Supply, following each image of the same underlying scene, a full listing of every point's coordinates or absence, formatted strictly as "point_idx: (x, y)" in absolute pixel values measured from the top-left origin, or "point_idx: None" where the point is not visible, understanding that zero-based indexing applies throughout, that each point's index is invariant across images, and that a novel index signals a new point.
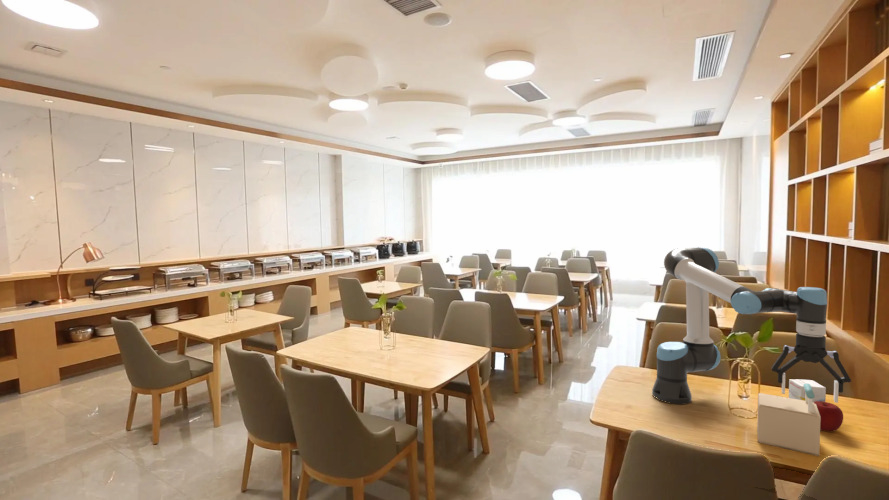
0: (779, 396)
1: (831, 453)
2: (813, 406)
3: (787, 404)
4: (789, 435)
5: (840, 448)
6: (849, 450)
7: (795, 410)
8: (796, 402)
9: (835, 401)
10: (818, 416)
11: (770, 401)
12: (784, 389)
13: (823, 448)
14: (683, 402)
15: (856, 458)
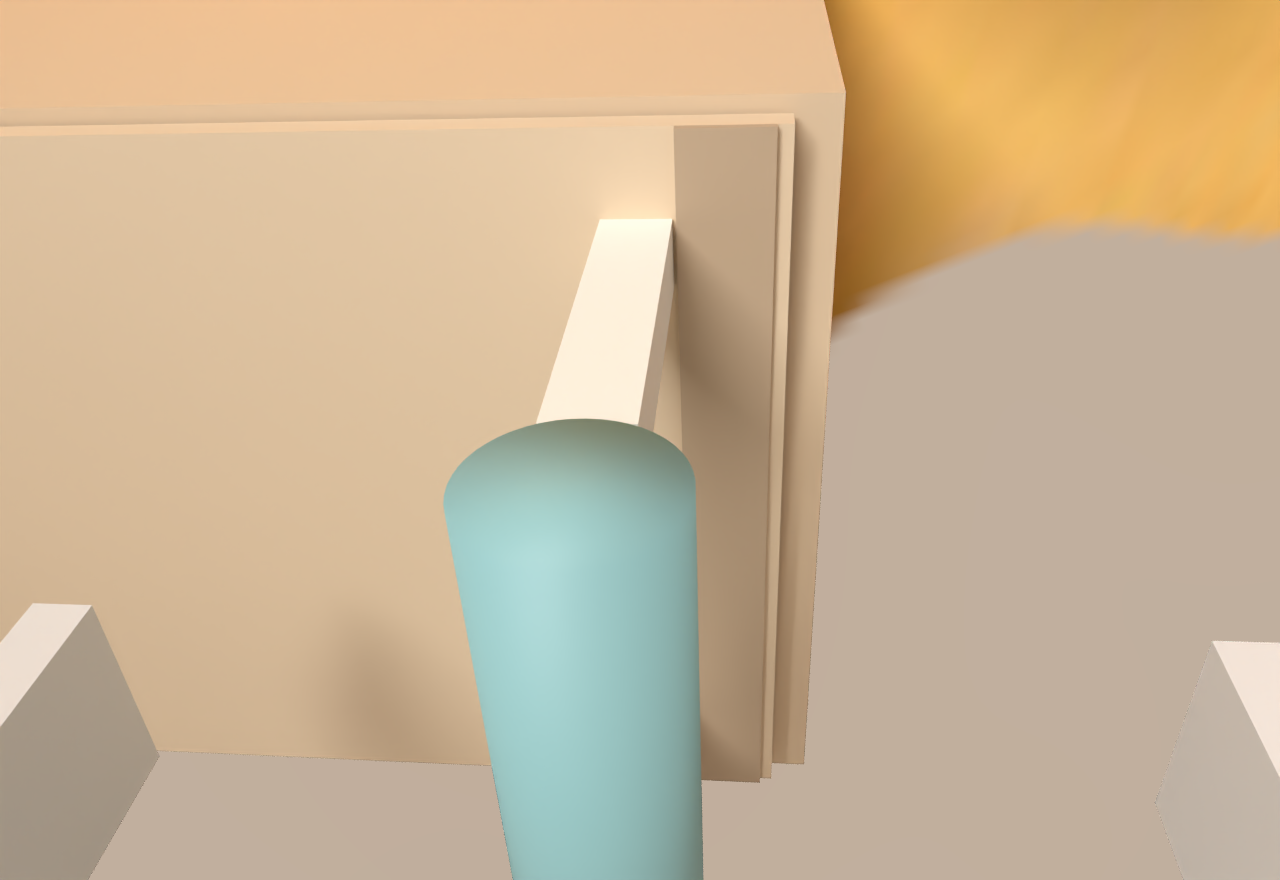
0: (43, 141)
1: (929, 242)
2: (748, 455)
3: (306, 563)
4: None
5: (1087, 8)
6: (1189, 8)
7: (457, 752)
8: (432, 367)
9: (1175, 828)
10: (777, 752)
11: (34, 562)
12: (88, 857)
13: (869, 143)
14: None
15: (1178, 225)
